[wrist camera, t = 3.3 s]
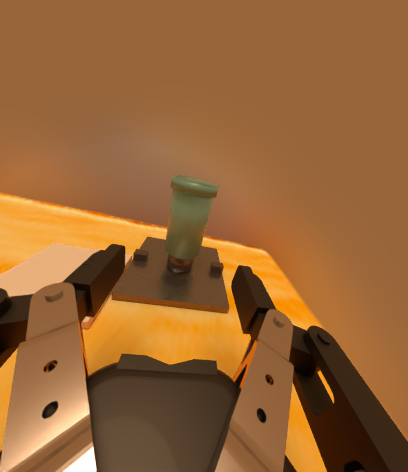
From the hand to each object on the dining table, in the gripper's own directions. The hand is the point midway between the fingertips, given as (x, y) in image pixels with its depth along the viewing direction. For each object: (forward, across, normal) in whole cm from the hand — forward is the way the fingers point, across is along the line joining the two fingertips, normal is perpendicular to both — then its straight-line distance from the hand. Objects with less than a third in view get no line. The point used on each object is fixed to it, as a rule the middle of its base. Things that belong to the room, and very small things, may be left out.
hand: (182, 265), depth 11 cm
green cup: (+11, 0, +6) cm, 12 cm away
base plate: (+11, 0, +10) cm, 15 cm away
